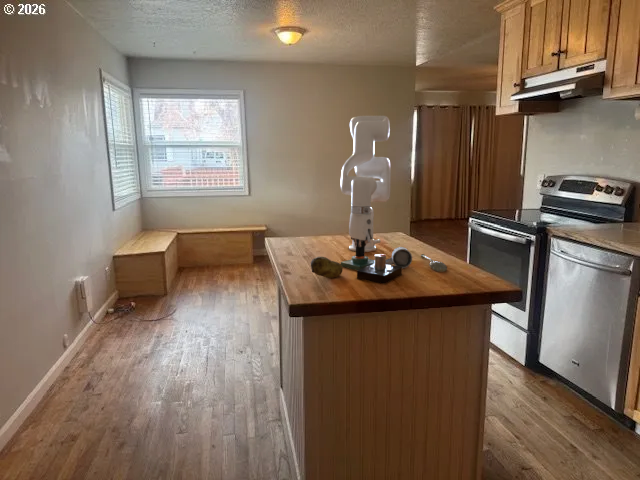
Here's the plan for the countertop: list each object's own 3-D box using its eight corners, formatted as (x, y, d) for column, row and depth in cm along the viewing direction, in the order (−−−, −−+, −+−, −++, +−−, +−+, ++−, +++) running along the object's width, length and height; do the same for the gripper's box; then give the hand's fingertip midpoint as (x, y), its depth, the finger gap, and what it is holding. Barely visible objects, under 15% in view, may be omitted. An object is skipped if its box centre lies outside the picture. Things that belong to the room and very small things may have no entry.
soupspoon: (432, 273, 166) (449, 274, 167) (433, 265, 166) (450, 265, 166) (415, 257, 188) (430, 257, 188) (416, 249, 187) (431, 250, 187)
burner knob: (373, 269, 158) (373, 255, 157) (376, 266, 162) (376, 252, 161) (383, 270, 157) (384, 256, 156) (386, 268, 160) (387, 253, 159)
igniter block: (359, 260, 183) (360, 252, 182) (379, 265, 176) (379, 256, 175) (340, 266, 174) (340, 257, 174) (359, 271, 167) (359, 262, 167)
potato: (348, 279, 157) (348, 257, 156) (313, 282, 153) (313, 260, 152) (340, 272, 165) (340, 252, 163) (307, 275, 161) (307, 254, 160)
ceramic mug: (409, 263, 179) (409, 244, 177) (412, 268, 170) (412, 249, 169) (382, 263, 179) (383, 245, 178) (384, 268, 171) (384, 249, 170)
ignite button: (359, 258, 177) (359, 254, 177) (366, 260, 175) (366, 256, 174) (353, 260, 175) (353, 256, 174) (360, 262, 172) (360, 257, 172)
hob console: (375, 270, 169) (375, 262, 168) (401, 274, 162) (402, 266, 162) (356, 278, 157) (357, 270, 157) (384, 284, 151) (384, 275, 151)
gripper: (381, 211, 166) (379, 258, 170) (356, 207, 178) (355, 251, 182) (366, 213, 162) (365, 261, 166) (341, 208, 174) (341, 253, 178)
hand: (360, 256), depth 174 cm, fingers closed
